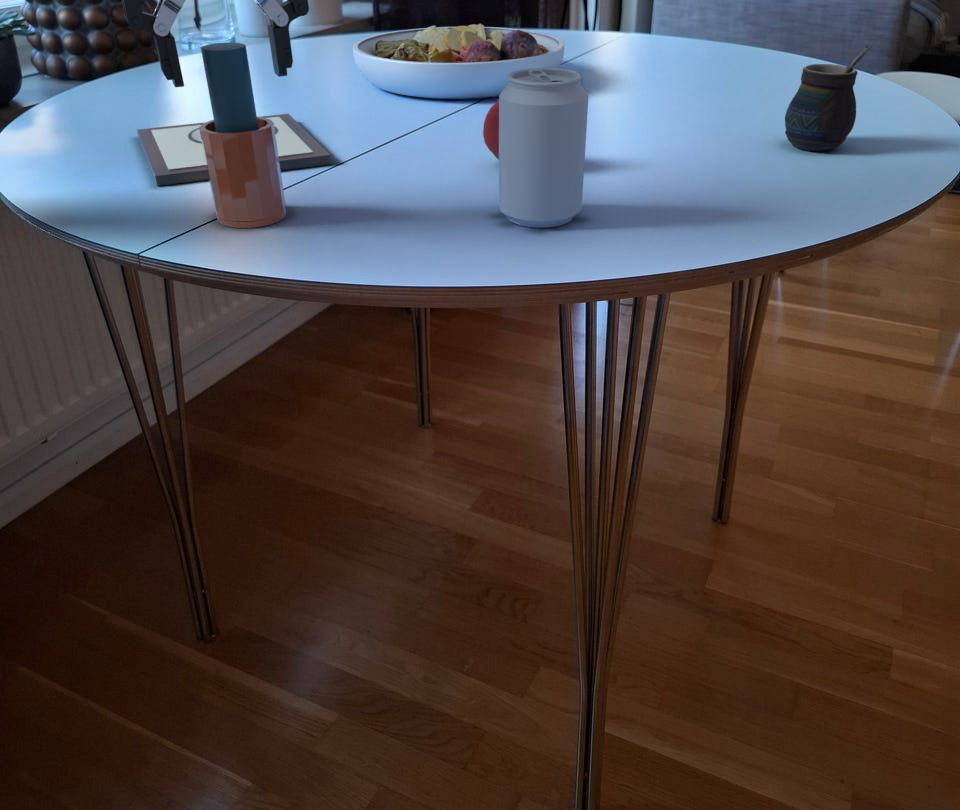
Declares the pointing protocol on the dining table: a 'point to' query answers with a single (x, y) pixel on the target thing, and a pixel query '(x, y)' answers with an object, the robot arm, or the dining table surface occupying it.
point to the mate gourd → (823, 106)
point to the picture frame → (182, 153)
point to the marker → (230, 87)
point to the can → (542, 146)
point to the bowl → (453, 59)
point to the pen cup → (244, 175)
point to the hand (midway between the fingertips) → (230, 80)
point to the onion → (492, 129)
